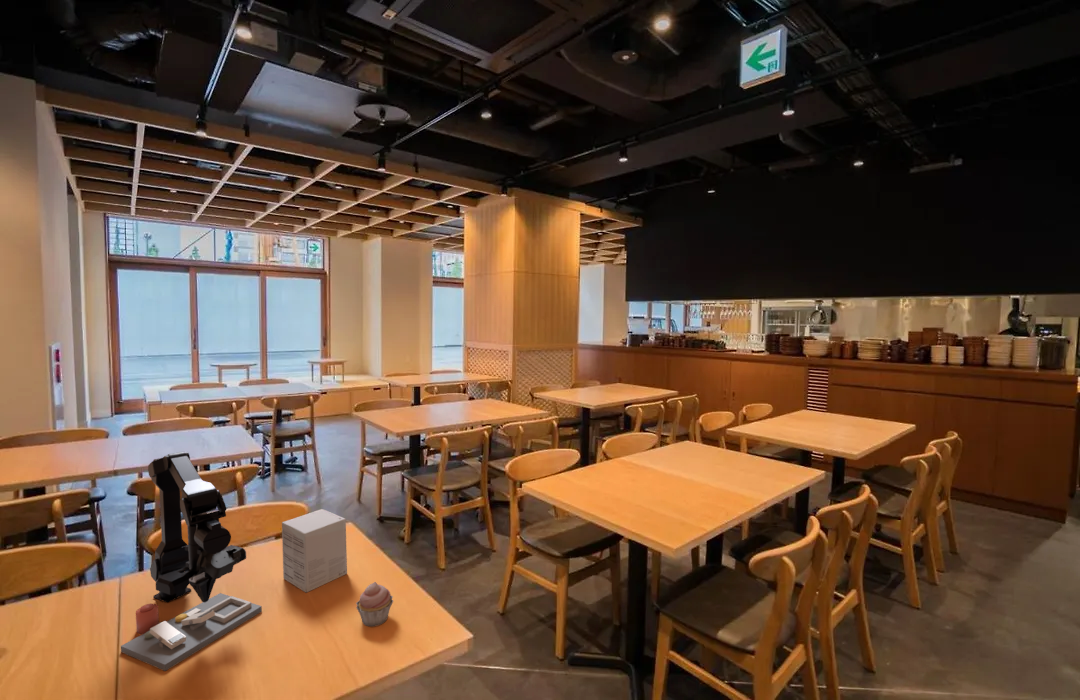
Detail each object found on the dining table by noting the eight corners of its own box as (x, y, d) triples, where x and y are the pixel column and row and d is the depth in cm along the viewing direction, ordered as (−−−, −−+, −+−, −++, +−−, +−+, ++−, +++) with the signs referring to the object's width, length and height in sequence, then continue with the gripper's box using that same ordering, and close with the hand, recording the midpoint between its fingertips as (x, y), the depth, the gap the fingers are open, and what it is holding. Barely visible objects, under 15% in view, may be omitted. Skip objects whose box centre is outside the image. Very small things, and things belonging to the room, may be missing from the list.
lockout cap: (132, 631, 124) (131, 609, 124) (152, 621, 129) (150, 600, 128) (143, 635, 123) (142, 613, 122) (163, 625, 127) (161, 604, 126)
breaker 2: (181, 626, 124) (179, 621, 124) (196, 617, 127) (195, 612, 128) (200, 623, 121) (199, 617, 121) (216, 614, 124) (214, 609, 124)
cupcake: (401, 614, 132) (401, 577, 131) (376, 634, 124) (375, 596, 123) (374, 605, 136) (373, 570, 135) (348, 624, 128) (347, 587, 127)
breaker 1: (148, 633, 117) (148, 628, 117) (165, 624, 121) (166, 619, 121) (170, 650, 115) (170, 645, 114) (187, 640, 118) (187, 635, 118)
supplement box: (323, 561, 160) (322, 507, 159) (348, 573, 152) (346, 518, 151) (282, 578, 149) (280, 521, 148) (306, 593, 142) (304, 533, 140)
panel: (121, 652, 117) (120, 641, 117) (220, 598, 139) (220, 588, 139) (165, 671, 111) (164, 659, 111) (261, 611, 133) (261, 601, 133)
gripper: (184, 564, 110) (187, 632, 111) (260, 530, 127) (262, 589, 128) (152, 554, 114) (155, 620, 115) (230, 523, 131) (232, 580, 133)
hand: (205, 601), depth 123 cm, fingers closed
